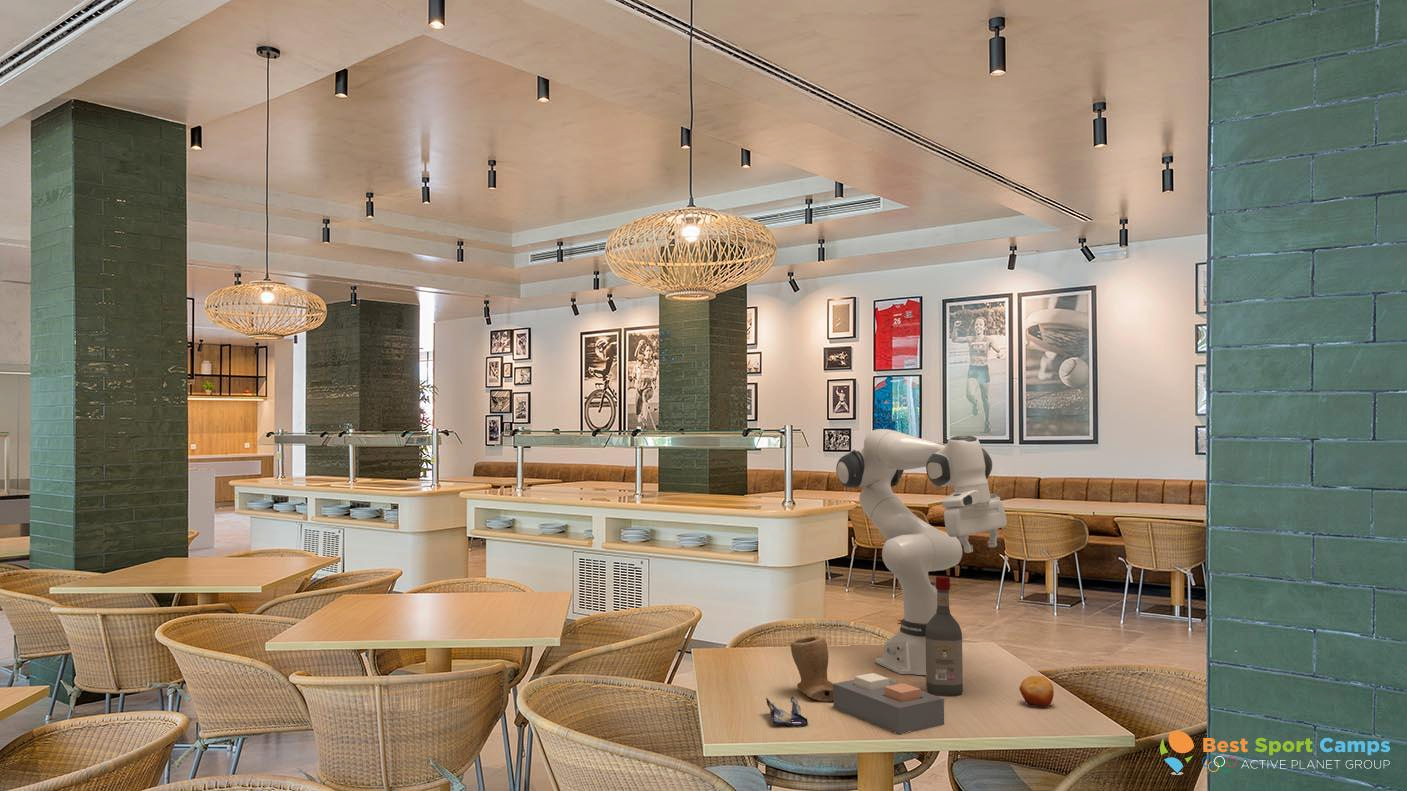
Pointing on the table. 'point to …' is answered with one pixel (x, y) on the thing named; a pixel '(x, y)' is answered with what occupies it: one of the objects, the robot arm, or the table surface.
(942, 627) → the liquor
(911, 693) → the terracotta key
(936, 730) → the table surface
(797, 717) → the dark blue forked piece
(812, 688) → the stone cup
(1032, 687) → the fruit
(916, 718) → the key panel
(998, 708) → the table surface
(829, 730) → the table surface
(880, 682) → the off-white key
